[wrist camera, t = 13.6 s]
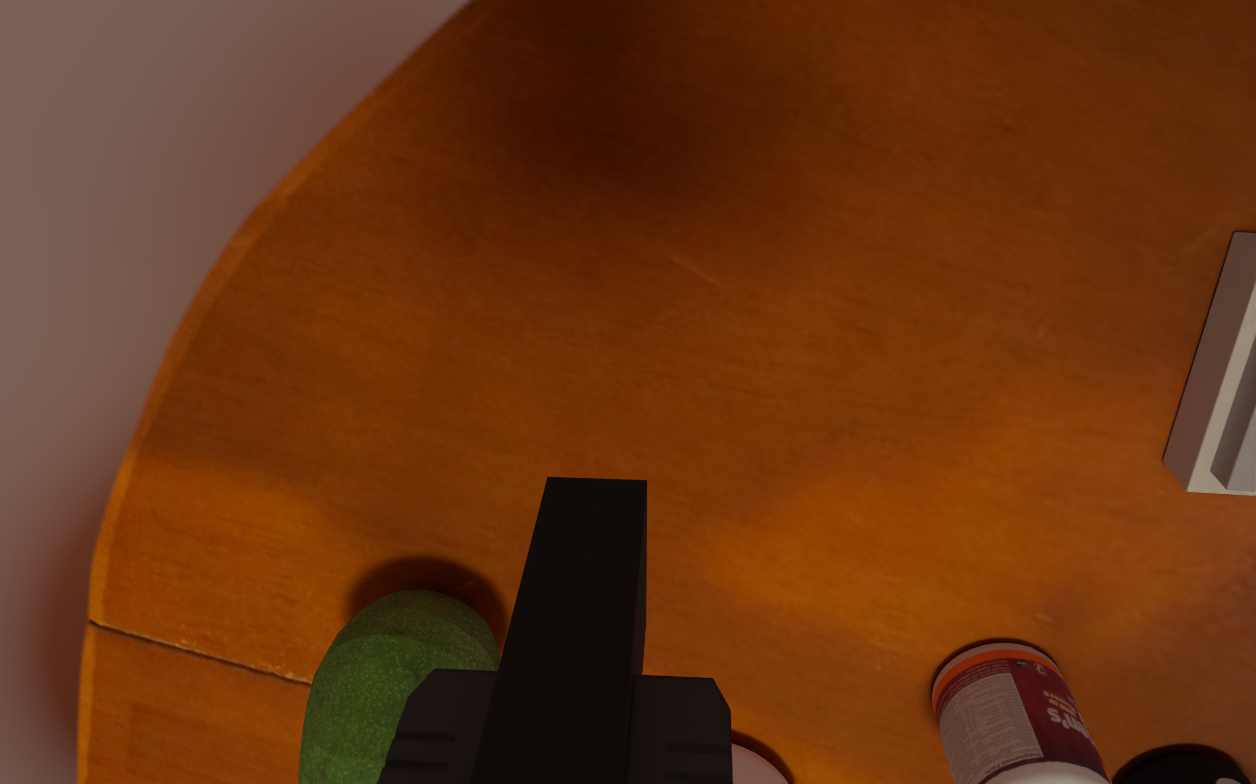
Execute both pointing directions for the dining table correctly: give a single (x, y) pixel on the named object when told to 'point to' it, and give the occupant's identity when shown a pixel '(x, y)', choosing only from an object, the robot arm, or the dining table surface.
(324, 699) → the fruit
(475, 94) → the dining table surface
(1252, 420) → the stepped grey block
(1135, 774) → the beverage can
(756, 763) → the cup
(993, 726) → the pill bottle
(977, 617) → the dining table surface
